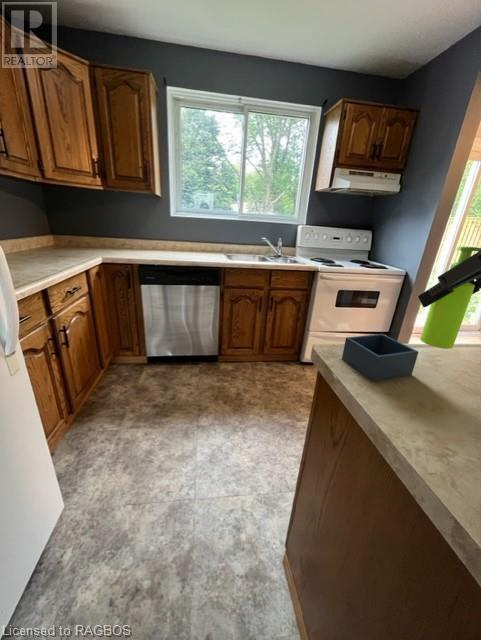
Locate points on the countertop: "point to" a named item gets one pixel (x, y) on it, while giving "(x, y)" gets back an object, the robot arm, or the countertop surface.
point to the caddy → (379, 356)
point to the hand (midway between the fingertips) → (434, 300)
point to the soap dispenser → (448, 311)
